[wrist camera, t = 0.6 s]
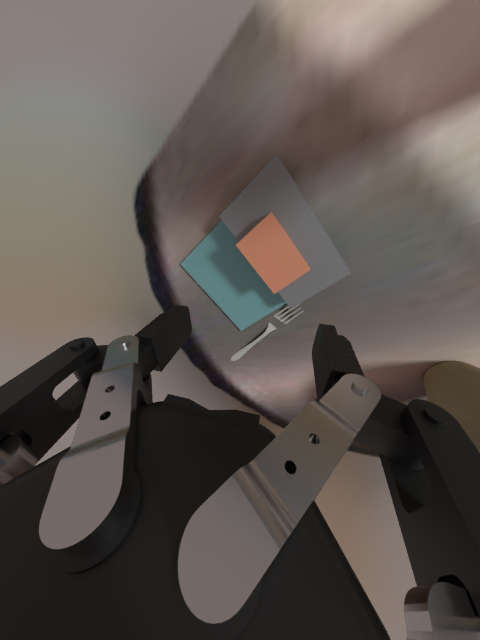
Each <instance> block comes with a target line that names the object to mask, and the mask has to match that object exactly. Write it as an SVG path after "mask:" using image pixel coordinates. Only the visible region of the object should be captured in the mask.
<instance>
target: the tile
mask: <svg viewBox="0 0 480 640" xmlns="http://www.w3.org/2000/svg"><path fill="white" fill-rule="evenodd" d="M236 246H237V247H238V249H239V250H240V251H241V253H242V254H243V255H244V256H245V258H246V259H247V260H248V261H249V263H250V264H251V265H252V267H253V268H254V269H255V270H256V272H257V273H258V274H259V275H260V277H261V278H262V279H263V281H264V282H265V283H266V284H267V286H268V287H269V288H270V289H271V291H272V292H273V293H274V294H275V293H277V292H278V291H280V290H281V289H283V288H284V287H286V286H287V285H289V284H290V283H292V282H293V281H295V280H296V279H298V278H299V277H301V276H302V275H304V274H305V273H307V272H308V271H310V268H309V265H308V264H307V262H306V261H305V259H304V258H303V256H302V255H301V254H300V252H299V251H298V249H297V248H296V246H295V245H294V243H293V242H292V240H291V239H290V237H289V236H288V235H287V233H286V232H285V230H284V229H283V227H282V226H281V224H280V223H279V221H278V220H277V218H276V217H275V216H274V214H273V213H272V212H271V213H270V214H268V215H267V216H266V217H265V218H264V219H263V220H262V221H261V222H260V223H259V224H258V225H257V226H256V227H254V228H253V229H252V230H251V231H250V232H249V233H248V234H247V235H246V236H245V237H244V238H243V239H242V240H240V241H239V242H238V243H237V244H236Z"/></svg>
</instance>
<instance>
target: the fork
mask: <svg viewBox="0 0 480 640" xmlns="http://www.w3.org/2000/svg"><path fill="white" fill-rule="evenodd" d="M297 306H299V305H297ZM297 306H295V307H293V308H292V309H289V310H288V311H286V312H285V313H283V314H282V315H280V316H278V317H277V315H278V314H280V313H281V312H283V311H284V310H286V309H287V308H289V306H287V307H285V308H284V309H282V310H280V311H279V312H277V313H276V314H275V315H274V316H275V317H276V318H277V319H279V320H280V319H281V317H283V316H284V315H285V314H287V313H288V312H290V311H291V310H293V309H294V308H296V307H297ZM300 309H301V308H299V309H297V310H295V311H293V312H292V313H290V314H289V315H287V316H286V317H284V318H283V319H281V320H280V321H281V322H284V320H285V319H287V318H288V317H289V316H291V315H292V314H294V313H295V312H297V311H298V310H300ZM303 311H304V310H303ZM303 311H301V312H299V313H297V314H296V315H294V316H293V317H291V318H290V319H288V320H287V321H286V322H284V324H287V323H288V322H289V321H290V320H292V319H293V318H295V317H296V316H298V315H299V314H300V313H302V312H303ZM275 329H276V328H275V327H274V326H273V325H272V324H271V323H269V324H268V327H267V329H266V331H265V332H264V333H263V334H262V335H261V336H260V337H259V338H257V339H256V340H254V341H253V342H251V343H250V344H248V345H247V346H245V347H244V348H242V349H241V350H239V351H238V352H237V353H235V354H234V355H233V356H232V357H231V361H236V360H238V359H239V358H240V357H242V356H243V355H244V354H245V353H246V352H247V351H248V350H249V349H250V348H251V347H253V346H254V345H255V344H256V343H257V342H258V341H260V340H261V339H262V338H263V337H265V336H266V335H267V334H268V333H269V332H271V331H273V330H275Z"/></svg>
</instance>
